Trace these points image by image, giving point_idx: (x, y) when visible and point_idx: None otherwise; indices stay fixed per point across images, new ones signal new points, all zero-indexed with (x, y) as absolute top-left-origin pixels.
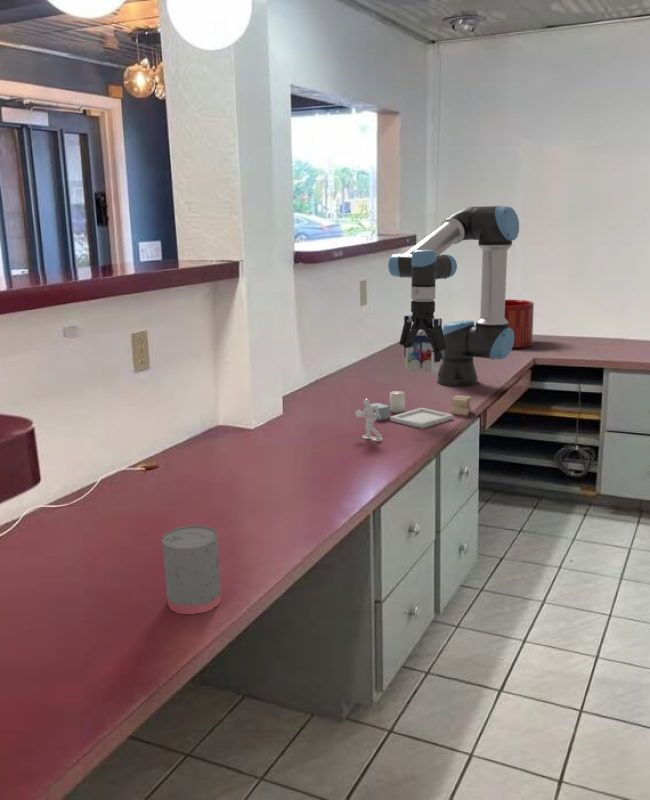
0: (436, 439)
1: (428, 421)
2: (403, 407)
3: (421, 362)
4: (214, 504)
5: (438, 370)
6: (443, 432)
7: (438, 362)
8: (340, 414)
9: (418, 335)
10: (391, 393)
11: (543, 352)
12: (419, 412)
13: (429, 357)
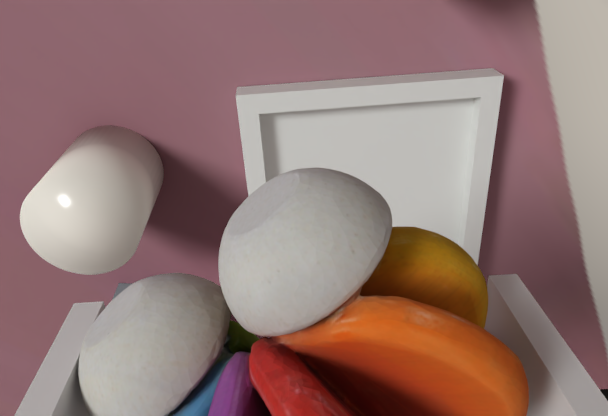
0: (596, 344)
1: None
2: (156, 172)
3: (220, 327)
4: None
5: (521, 282)
6: (575, 270)
7: (573, 359)
8: (20, 392)
9: None
10: (69, 263)
11: None
12: (268, 135)
13: (373, 375)
